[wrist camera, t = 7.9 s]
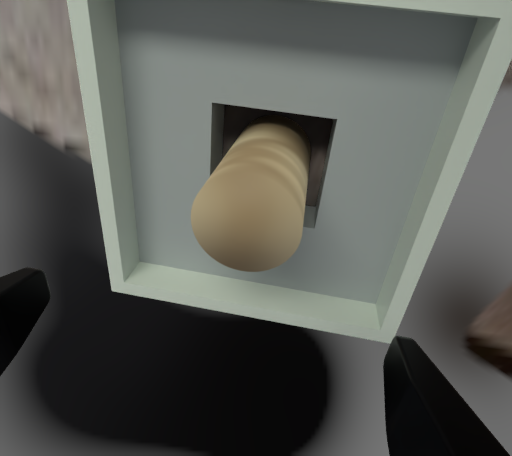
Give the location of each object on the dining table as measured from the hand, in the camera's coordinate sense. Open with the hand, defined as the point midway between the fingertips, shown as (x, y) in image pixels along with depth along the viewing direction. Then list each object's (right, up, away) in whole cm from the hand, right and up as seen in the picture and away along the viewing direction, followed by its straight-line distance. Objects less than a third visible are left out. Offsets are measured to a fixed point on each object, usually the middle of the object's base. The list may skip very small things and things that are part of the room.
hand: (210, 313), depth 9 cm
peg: (+2, +6, +10) cm, 12 cm away
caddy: (+2, +6, +10) cm, 12 cm away
